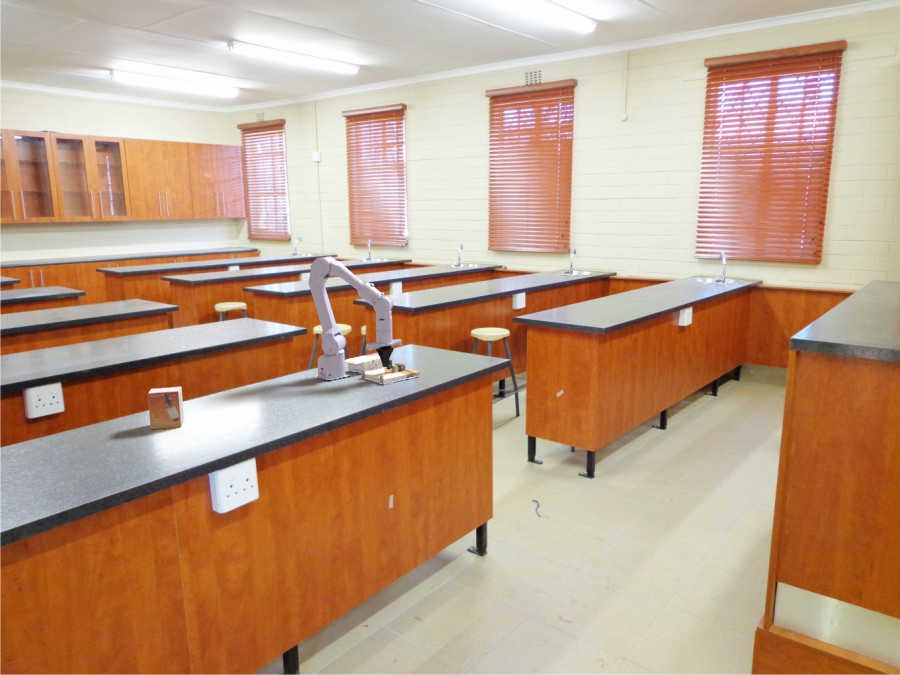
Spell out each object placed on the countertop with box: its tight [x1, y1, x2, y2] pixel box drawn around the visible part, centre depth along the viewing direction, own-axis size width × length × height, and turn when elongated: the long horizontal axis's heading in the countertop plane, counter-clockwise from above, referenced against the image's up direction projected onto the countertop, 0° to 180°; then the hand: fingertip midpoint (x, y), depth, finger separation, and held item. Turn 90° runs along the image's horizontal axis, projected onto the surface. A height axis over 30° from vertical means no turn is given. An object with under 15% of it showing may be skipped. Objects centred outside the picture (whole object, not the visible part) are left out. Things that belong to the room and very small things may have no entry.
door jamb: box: [385, 362, 420, 378], centre depth 224 cm, size 5×14×4 cm, turn 43°
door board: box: [360, 364, 407, 384], centre depth 218 cm, size 11×14×4 cm
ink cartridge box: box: [345, 354, 383, 373], centre depth 231 cm, size 9×5×15 cm
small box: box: [147, 386, 185, 430], centre depth 168 cm, size 8×6×10 cm
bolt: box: [384, 359, 401, 373], centre depth 222 cm, size 8×2×4 cm, turn 133°
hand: (385, 366), depth 219 cm, fingers closed
